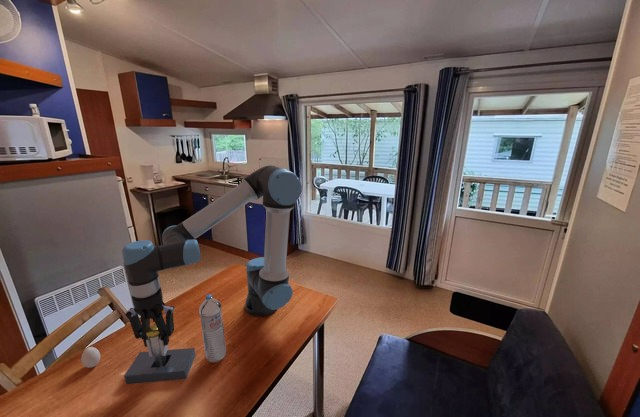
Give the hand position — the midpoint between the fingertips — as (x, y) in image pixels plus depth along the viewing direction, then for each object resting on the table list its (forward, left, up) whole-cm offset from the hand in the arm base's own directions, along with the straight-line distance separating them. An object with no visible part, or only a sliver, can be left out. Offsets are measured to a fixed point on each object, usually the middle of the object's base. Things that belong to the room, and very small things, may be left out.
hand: (159, 352), depth 85 cm
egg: (+24, -4, -7) cm, 25 cm away
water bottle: (-16, -4, -7) cm, 18 cm away
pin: (0, 0, -5) cm, 5 cm away
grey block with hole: (0, 0, -7) cm, 7 cm away
